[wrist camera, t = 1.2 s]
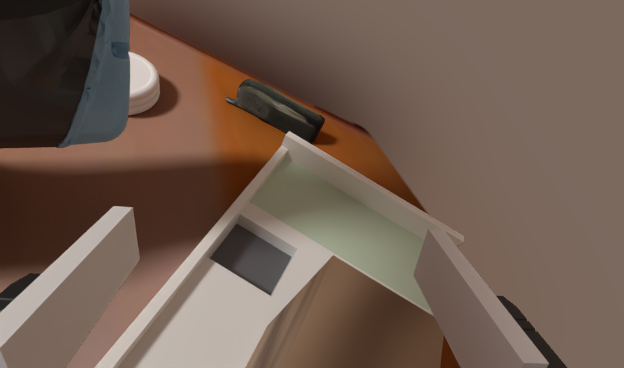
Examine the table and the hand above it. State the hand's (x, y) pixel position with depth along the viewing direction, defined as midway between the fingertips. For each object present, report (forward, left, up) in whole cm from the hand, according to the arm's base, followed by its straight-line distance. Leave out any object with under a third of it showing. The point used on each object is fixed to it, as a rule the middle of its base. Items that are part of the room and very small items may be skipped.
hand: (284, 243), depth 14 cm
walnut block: (+6, -1, -18) cm, 19 cm away
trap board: (+6, +7, -20) cm, 22 cm away
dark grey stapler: (-12, +29, -21) cm, 38 cm away
